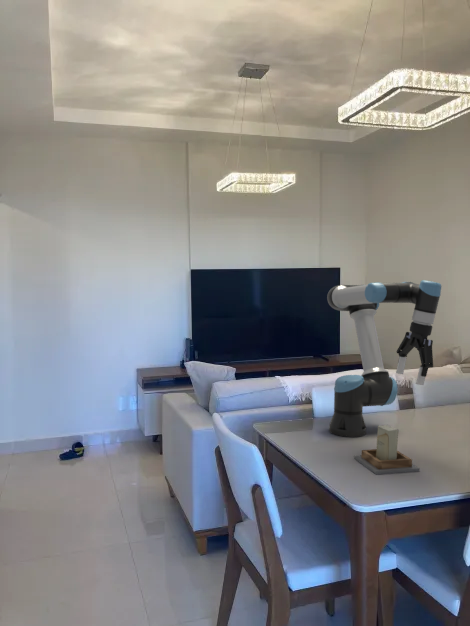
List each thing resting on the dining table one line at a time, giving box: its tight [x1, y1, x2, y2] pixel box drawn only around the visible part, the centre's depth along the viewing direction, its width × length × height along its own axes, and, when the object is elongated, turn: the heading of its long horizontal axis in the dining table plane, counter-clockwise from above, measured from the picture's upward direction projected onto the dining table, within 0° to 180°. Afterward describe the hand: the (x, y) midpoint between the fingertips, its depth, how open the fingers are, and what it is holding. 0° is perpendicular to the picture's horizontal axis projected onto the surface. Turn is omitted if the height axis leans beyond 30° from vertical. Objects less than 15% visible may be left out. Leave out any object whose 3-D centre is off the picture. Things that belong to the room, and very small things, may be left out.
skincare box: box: [375, 424, 399, 460], centre depth 187 cm, size 6×4×12 cm
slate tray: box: [353, 454, 420, 475], centre depth 188 cm, size 16×16×1 cm
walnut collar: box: [360, 448, 413, 469], centre depth 188 cm, size 12×12×2 cm
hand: (409, 379), depth 200 cm, fingers open, 13 cm apart
